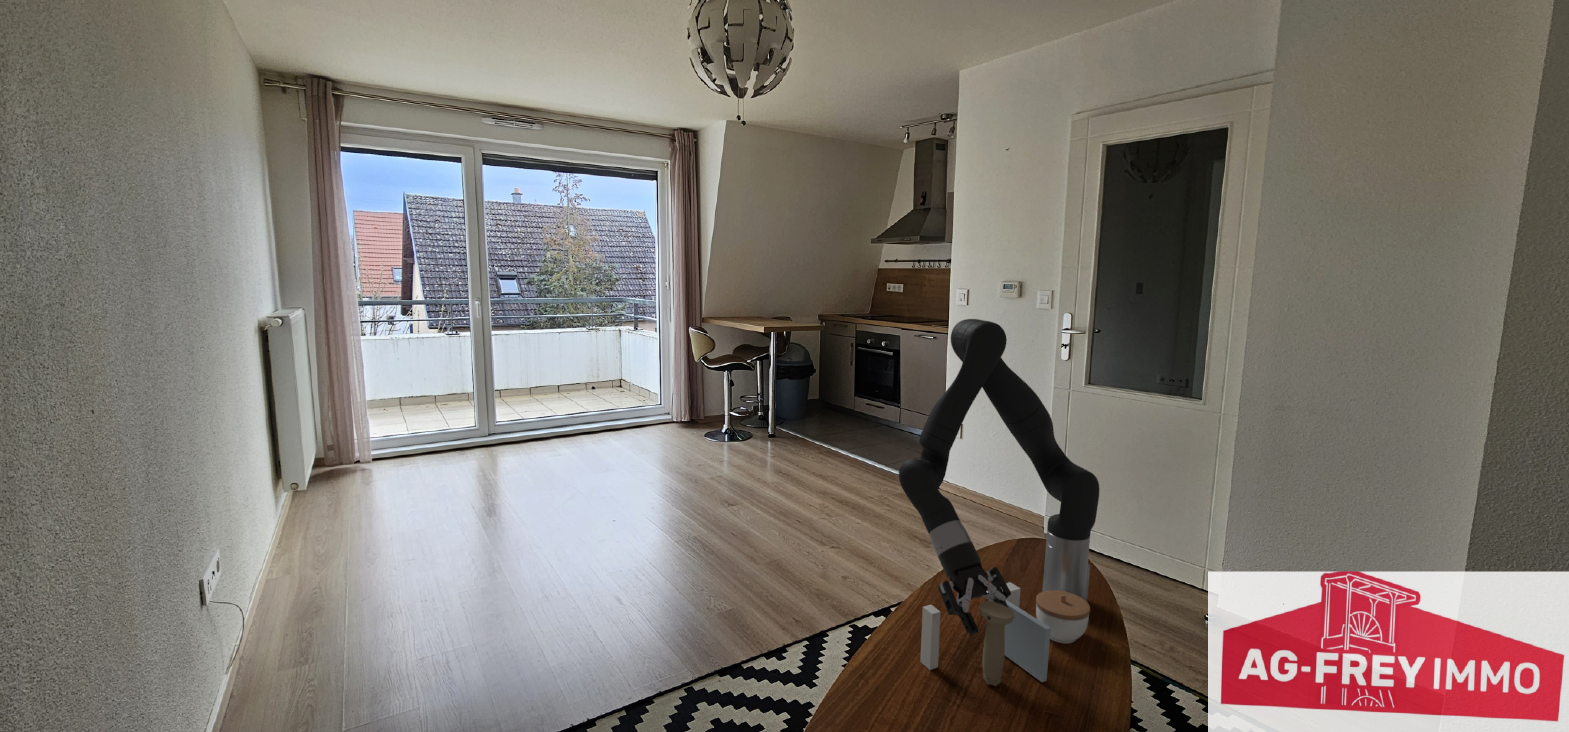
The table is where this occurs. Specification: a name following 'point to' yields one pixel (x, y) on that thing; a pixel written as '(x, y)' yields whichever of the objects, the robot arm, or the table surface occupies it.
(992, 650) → the tan tapered grip
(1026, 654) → the door
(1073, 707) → the table surface
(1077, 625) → the lidded jar
